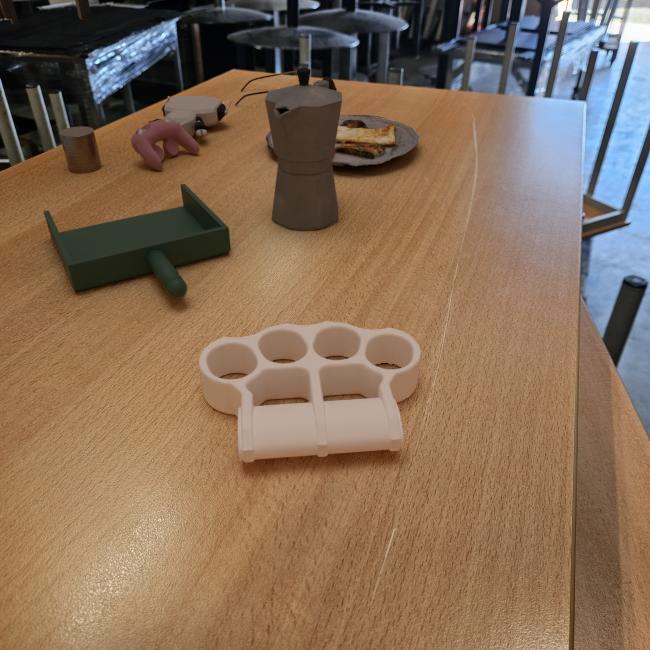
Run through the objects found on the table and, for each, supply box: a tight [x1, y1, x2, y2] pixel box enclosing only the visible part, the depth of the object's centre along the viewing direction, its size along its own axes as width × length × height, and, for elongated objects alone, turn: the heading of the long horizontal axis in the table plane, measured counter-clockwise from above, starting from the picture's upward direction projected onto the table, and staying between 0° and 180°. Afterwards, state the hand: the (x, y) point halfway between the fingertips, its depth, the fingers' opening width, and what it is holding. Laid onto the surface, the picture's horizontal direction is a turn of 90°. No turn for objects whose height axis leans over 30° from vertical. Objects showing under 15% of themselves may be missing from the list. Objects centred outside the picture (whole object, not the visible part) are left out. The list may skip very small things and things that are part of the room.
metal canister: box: [59, 126, 103, 174], centre depth 86 cm, size 5×5×6 cm
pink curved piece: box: [130, 119, 200, 172], centre depth 89 cm, size 10×5×7 cm, turn 149°
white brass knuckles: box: [198, 320, 422, 463], centre depth 46 cm, size 3×18×15 cm
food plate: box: [265, 114, 422, 167], centre depth 95 cm, size 25×23×4 cm
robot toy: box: [147, 95, 233, 138], centre depth 101 cm, size 12×4×15 cm
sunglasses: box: [234, 69, 297, 106], centre depth 120 cm, size 14×15×5 cm
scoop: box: [42, 183, 232, 299], centre depth 64 cm, size 23×17×4 cm
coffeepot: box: [264, 66, 343, 232], centre depth 70 cm, size 15×9×18 cm, turn 157°
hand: (49, 21), depth 76 cm, fingers open, 8 cm apart
